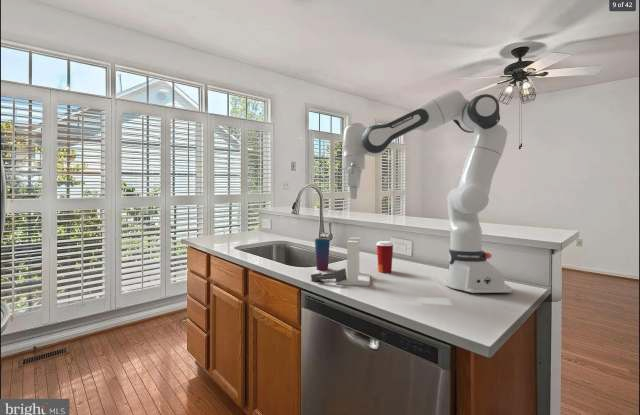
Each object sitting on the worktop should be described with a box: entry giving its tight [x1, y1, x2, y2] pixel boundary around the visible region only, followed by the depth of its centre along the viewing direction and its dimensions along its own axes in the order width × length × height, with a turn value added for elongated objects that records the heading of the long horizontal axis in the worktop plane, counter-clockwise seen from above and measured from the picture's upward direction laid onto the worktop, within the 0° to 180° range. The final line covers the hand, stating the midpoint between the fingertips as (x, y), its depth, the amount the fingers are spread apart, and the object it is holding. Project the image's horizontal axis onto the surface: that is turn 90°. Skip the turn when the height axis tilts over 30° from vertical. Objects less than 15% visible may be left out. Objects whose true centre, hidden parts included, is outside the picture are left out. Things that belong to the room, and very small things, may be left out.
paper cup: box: [376, 240, 394, 274], centre depth 147 cm, size 8×8×14 cm
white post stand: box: [335, 237, 371, 286], centre depth 133 cm, size 13×16×16 cm
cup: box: [314, 237, 331, 272], centre depth 149 cm, size 7×7×15 cm
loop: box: [310, 268, 347, 283], centre depth 129 cm, size 7×4×13 cm
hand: (353, 198), depth 133 cm, fingers open, 8 cm apart
